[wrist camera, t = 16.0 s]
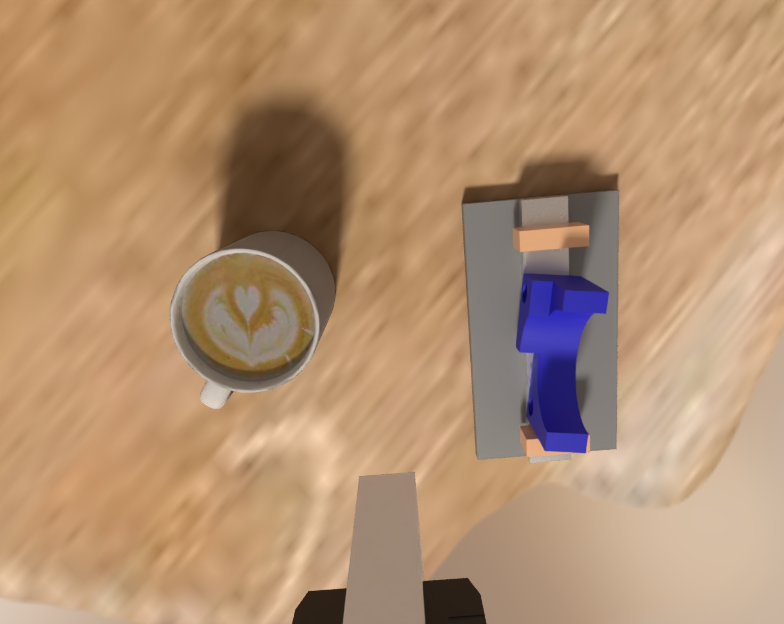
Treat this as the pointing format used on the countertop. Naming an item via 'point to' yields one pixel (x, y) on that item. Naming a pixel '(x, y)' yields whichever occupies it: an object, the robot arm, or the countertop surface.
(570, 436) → the cable clip
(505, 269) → the rail mount
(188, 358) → the coffee mug
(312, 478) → the countertop surface
